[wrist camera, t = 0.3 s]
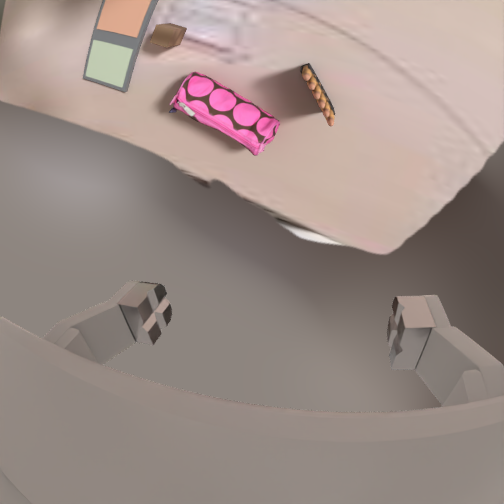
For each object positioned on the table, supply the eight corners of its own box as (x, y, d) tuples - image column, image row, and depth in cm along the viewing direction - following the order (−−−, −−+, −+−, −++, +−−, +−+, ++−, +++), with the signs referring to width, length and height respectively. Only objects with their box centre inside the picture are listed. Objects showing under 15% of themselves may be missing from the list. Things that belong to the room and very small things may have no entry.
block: (170, 23, 40) (156, 24, 36) (187, 28, 41) (174, 29, 37) (163, 39, 43) (149, 42, 39) (180, 44, 44) (166, 47, 40)
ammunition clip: (334, 108, 49) (338, 128, 41) (325, 111, 50) (328, 132, 42) (309, 62, 43) (308, 71, 35) (300, 66, 44) (297, 76, 36)
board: (110, -13, 32) (106, -13, 31) (160, -6, 35) (157, -6, 34) (85, 77, 50) (82, 78, 49) (127, 91, 52) (124, 92, 52)
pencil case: (180, 103, 54) (159, 119, 47) (197, 67, 47) (177, 76, 41) (263, 148, 59) (255, 170, 52) (287, 115, 52) (282, 132, 46)
